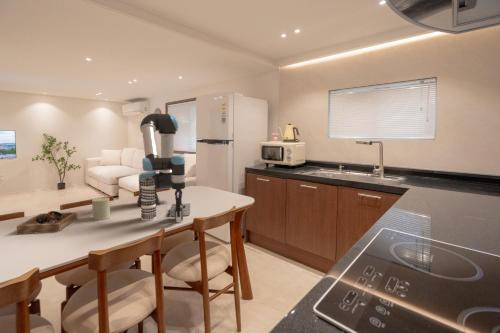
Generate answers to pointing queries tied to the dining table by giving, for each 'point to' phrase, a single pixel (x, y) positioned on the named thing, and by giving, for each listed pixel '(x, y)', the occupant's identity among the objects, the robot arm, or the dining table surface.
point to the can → (101, 208)
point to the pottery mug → (49, 217)
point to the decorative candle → (148, 199)
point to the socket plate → (185, 209)
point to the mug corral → (33, 226)
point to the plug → (181, 213)
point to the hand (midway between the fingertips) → (179, 219)
